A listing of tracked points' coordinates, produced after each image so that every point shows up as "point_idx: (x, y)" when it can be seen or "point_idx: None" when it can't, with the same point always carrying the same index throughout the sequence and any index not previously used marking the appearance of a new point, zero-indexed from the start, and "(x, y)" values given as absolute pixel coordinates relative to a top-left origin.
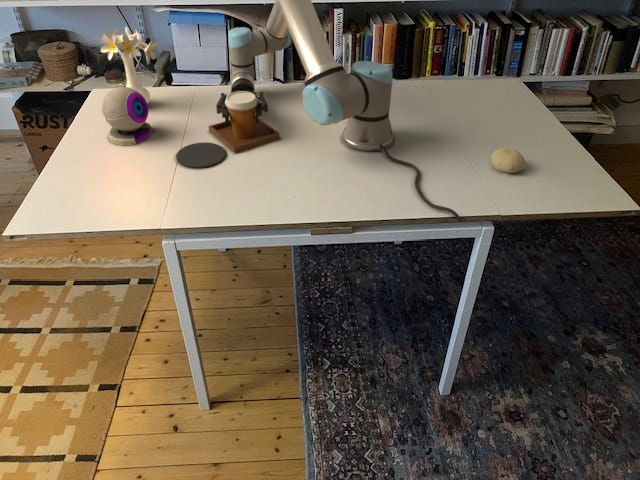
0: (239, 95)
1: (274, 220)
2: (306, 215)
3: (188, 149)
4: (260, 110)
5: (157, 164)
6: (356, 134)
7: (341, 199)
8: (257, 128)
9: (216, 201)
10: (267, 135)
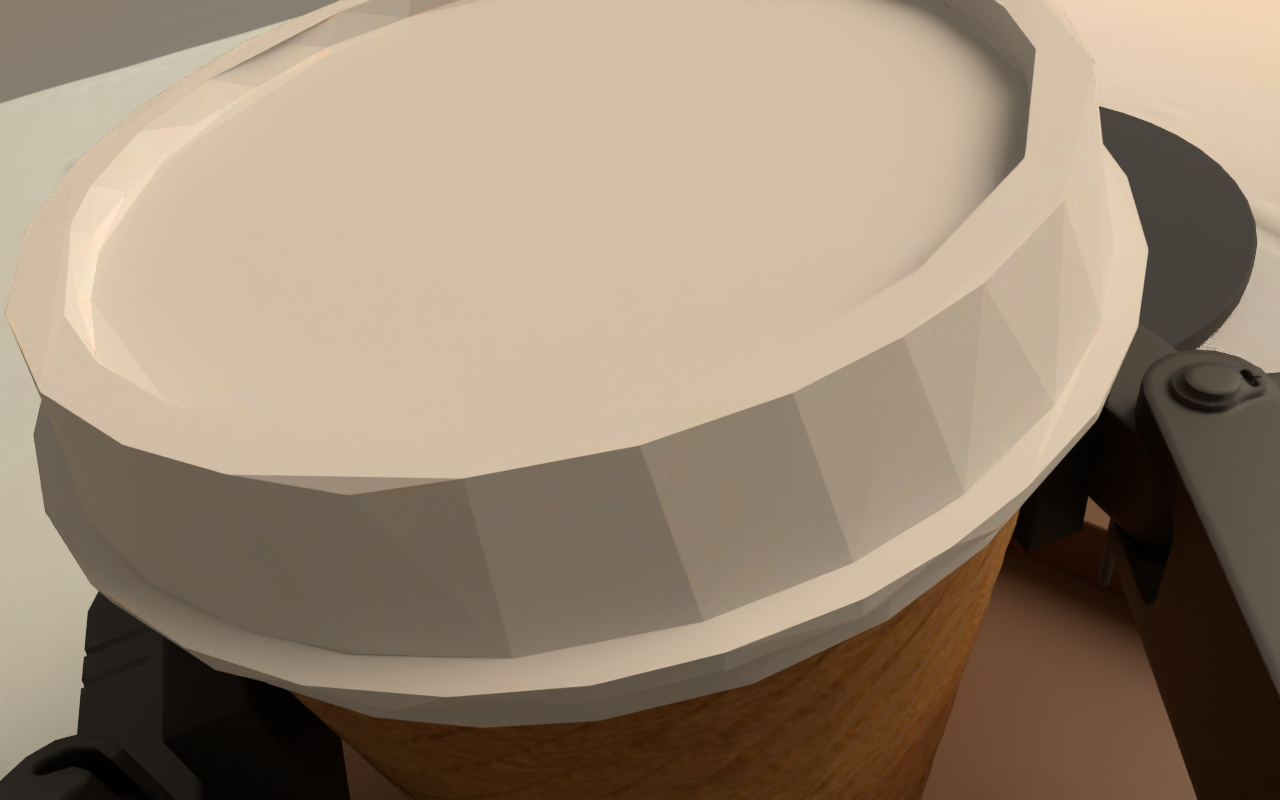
0: (686, 238)
1: (198, 50)
2: (27, 110)
3: (1160, 220)
4: (133, 638)
5: (1219, 59)
6: None
7: None
8: None
9: None
10: None
